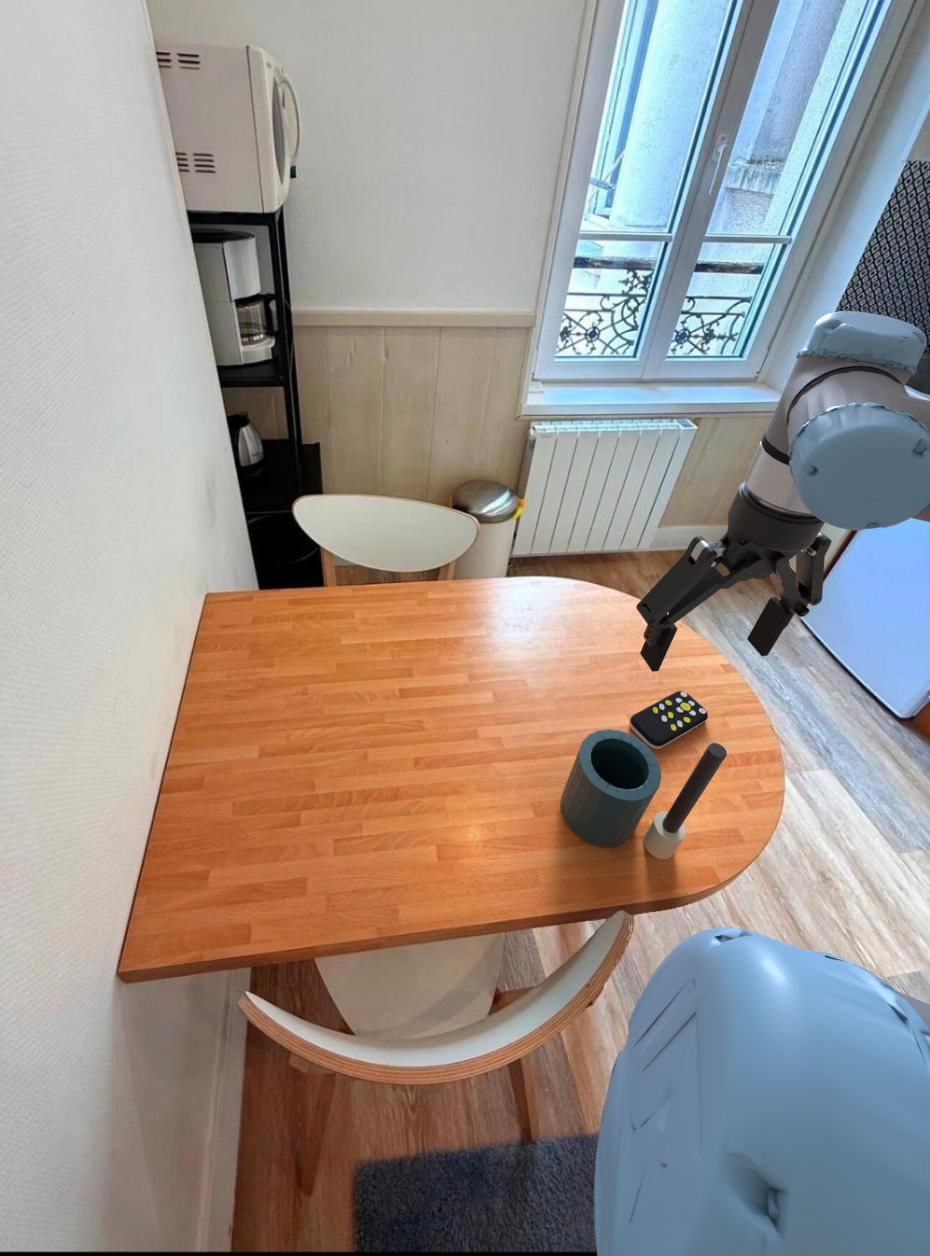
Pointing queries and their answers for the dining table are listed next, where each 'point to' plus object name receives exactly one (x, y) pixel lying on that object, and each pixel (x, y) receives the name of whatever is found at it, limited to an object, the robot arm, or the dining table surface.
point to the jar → (609, 787)
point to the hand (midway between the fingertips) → (703, 654)
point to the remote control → (668, 719)
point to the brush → (682, 806)
